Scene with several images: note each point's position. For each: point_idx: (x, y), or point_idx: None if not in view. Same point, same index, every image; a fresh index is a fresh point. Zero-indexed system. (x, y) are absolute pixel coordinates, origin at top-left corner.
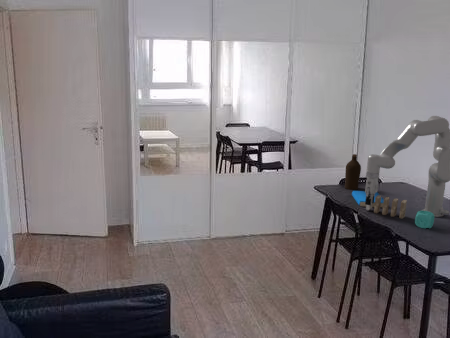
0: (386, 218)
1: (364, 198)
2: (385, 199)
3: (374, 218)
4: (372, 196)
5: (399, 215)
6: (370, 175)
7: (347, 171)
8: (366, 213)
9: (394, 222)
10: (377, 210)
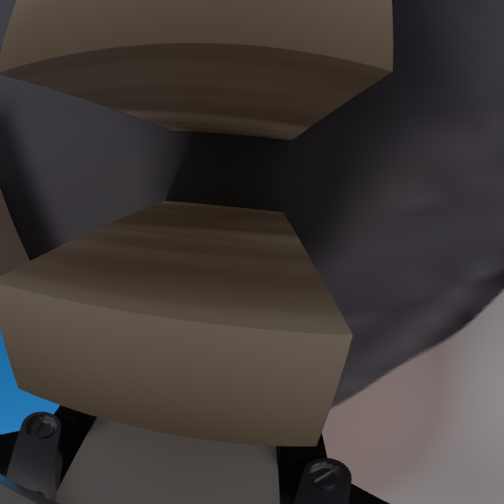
0: (426, 76)
1: (11, 417)
2: (378, 15)
3: (489, 207)
4: (113, 457)
5: None
6: None
7: None
8: (363, 325)
9: (481, 16)
10: (281, 218)
